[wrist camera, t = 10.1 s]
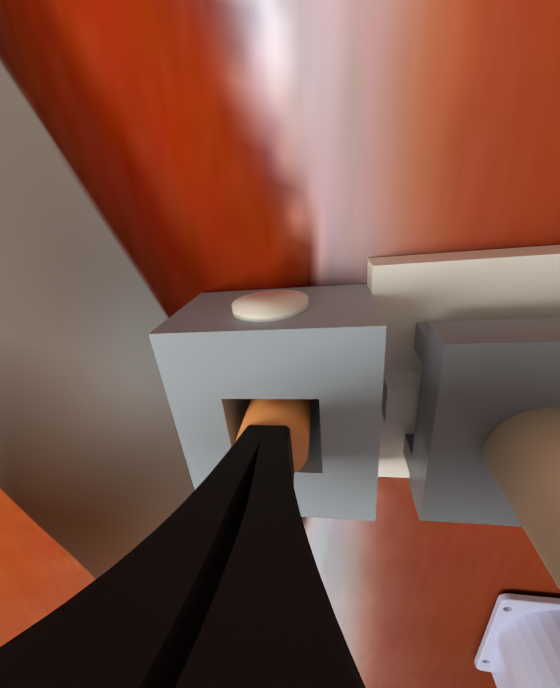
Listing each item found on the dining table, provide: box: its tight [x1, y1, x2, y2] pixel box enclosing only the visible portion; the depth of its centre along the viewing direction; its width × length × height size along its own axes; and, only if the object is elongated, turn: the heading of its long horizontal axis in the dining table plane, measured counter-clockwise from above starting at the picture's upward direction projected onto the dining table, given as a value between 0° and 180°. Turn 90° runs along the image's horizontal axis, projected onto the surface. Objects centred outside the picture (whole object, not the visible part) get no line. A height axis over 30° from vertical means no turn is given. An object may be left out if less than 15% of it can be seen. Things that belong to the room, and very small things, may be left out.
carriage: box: [403, 317, 560, 590], centre depth 8 cm, size 7×6×7 cm
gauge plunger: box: [236, 399, 312, 473], centre depth 12 cm, size 2×2×4 cm
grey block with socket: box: [149, 284, 387, 521], centre depth 12 cm, size 8×7×4 cm
